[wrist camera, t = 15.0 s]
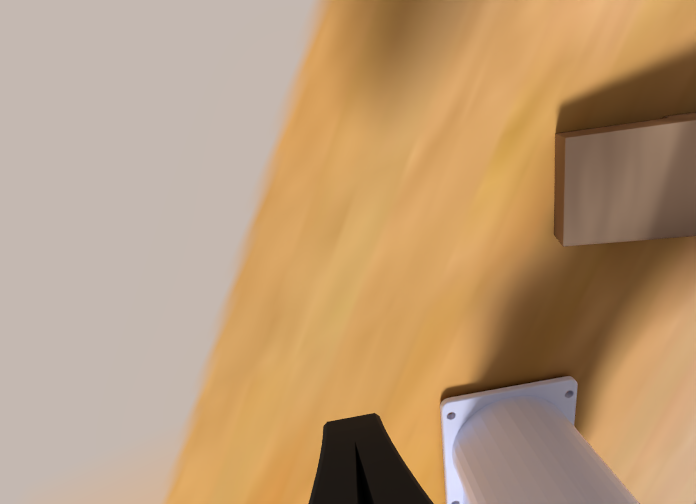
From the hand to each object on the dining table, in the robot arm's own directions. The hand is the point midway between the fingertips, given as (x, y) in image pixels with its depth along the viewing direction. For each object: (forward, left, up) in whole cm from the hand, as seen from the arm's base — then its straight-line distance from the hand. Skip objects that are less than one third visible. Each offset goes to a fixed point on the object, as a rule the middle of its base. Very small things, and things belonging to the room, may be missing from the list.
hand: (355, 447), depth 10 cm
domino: (+3, -11, -10) cm, 15 cm away
